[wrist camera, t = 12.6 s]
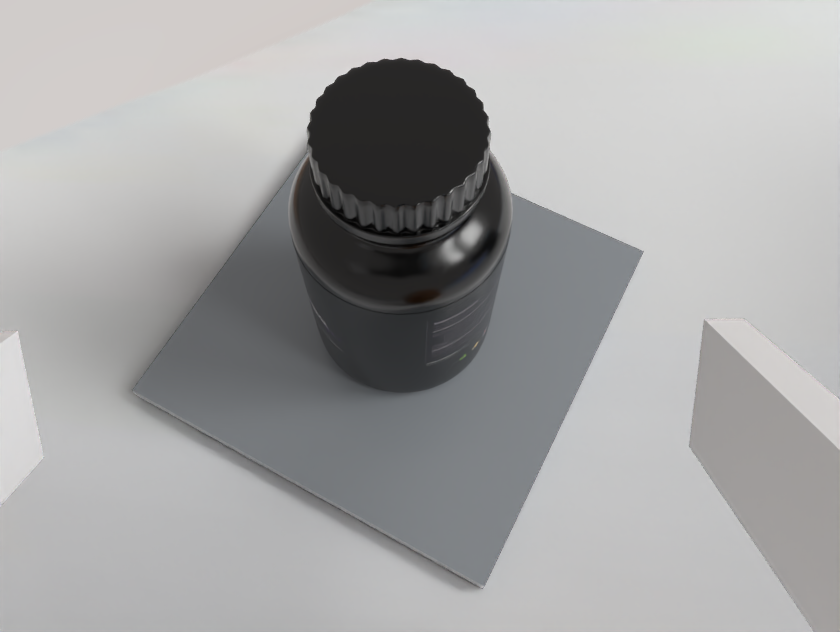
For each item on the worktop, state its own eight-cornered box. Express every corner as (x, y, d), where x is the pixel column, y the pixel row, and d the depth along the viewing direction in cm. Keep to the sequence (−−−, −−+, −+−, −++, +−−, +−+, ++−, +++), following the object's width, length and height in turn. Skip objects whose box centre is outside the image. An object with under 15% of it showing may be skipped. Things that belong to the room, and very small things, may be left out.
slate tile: (638, 260, 32) (643, 251, 32) (482, 589, 27) (484, 586, 26) (336, 126, 35) (334, 115, 35) (139, 396, 30) (132, 390, 29)
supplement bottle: (282, 332, 30) (206, 142, 19) (390, 215, 32) (376, -13, 22) (420, 435, 28) (422, 291, 18) (523, 304, 31) (582, 104, 20)
